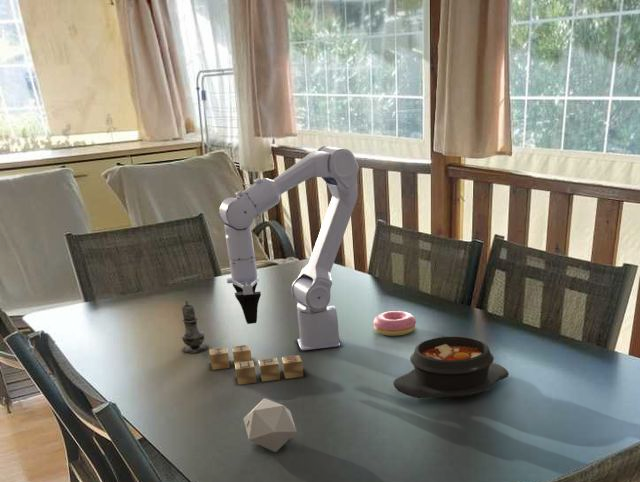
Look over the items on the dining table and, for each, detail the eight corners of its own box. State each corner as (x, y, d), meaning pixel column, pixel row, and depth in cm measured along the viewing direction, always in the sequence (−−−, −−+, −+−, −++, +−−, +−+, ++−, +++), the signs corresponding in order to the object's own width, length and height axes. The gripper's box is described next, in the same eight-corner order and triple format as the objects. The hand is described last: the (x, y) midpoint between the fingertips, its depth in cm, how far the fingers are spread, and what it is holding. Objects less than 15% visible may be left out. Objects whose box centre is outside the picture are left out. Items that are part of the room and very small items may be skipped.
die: (261, 434, 130) (228, 406, 122) (300, 410, 128) (269, 380, 120) (270, 468, 125) (237, 441, 117) (310, 443, 123) (280, 414, 115)
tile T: (251, 359, 163) (249, 344, 161) (252, 365, 160) (250, 349, 158) (234, 361, 162) (231, 346, 160) (235, 367, 159) (232, 352, 157)
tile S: (301, 370, 156) (299, 354, 154) (303, 376, 152) (301, 360, 150) (283, 372, 155) (281, 356, 153) (285, 378, 152) (283, 363, 150)
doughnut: (366, 335, 174) (365, 319, 171) (382, 322, 182) (382, 306, 180) (407, 339, 170) (407, 323, 168) (421, 325, 178) (421, 309, 176)
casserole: (422, 416, 132) (422, 375, 128) (377, 384, 146) (376, 346, 142) (527, 388, 142) (530, 348, 137) (475, 361, 156) (476, 324, 151)
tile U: (255, 375, 154) (252, 360, 152) (256, 382, 150) (254, 366, 149) (237, 378, 153) (234, 362, 151) (238, 384, 150) (235, 368, 148)
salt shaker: (201, 353, 168) (192, 304, 161) (179, 352, 169) (169, 304, 162) (211, 345, 173) (202, 297, 166) (189, 344, 174) (180, 297, 167)
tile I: (229, 361, 162) (226, 346, 160) (230, 367, 159) (227, 352, 157) (211, 364, 161) (209, 349, 159) (212, 370, 158) (209, 354, 156)
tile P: (278, 372, 155) (276, 357, 153) (280, 379, 151) (278, 363, 149) (260, 375, 154) (258, 359, 152) (262, 381, 151) (260, 365, 149)
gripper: (222, 252, 157) (231, 311, 164) (225, 266, 145) (234, 329, 152) (253, 249, 158) (260, 308, 166) (258, 263, 146) (266, 326, 153)
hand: (250, 318), depth 159 cm, fingers open, 7 cm apart
